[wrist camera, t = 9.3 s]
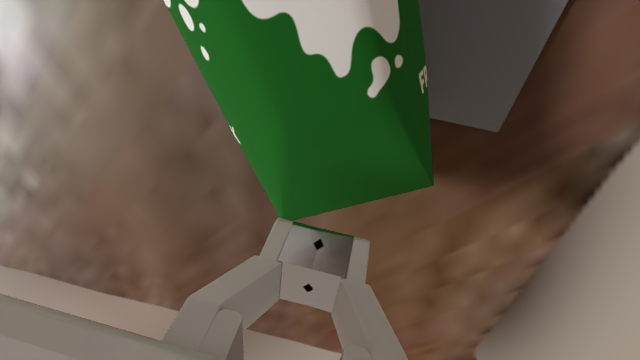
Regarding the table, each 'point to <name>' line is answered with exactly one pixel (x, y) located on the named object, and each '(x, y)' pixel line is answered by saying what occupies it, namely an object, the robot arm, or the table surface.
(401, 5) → the soya milk
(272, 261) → the robot arm
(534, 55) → the mat
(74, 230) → the table surface
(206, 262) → the table surface
